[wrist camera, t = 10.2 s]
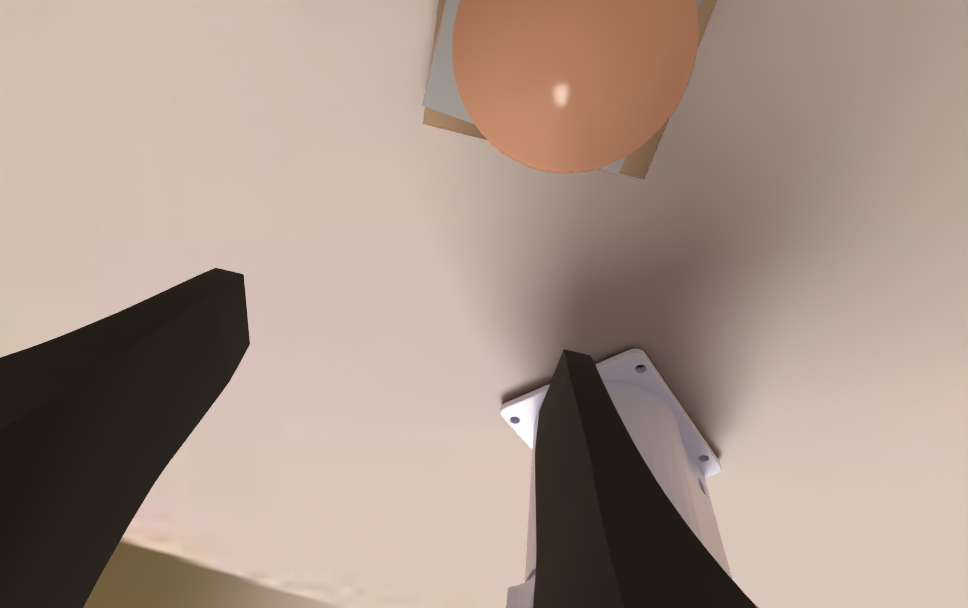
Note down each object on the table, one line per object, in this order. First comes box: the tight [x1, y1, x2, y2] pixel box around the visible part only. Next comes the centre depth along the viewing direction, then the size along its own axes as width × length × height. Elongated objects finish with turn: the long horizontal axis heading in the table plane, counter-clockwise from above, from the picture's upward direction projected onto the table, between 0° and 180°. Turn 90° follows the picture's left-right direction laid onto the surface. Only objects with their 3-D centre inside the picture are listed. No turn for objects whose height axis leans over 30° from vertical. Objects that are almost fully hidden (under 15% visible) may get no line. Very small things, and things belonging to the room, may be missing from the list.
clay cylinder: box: [452, 0, 699, 173], centre depth 11 cm, size 4×4×4 cm
